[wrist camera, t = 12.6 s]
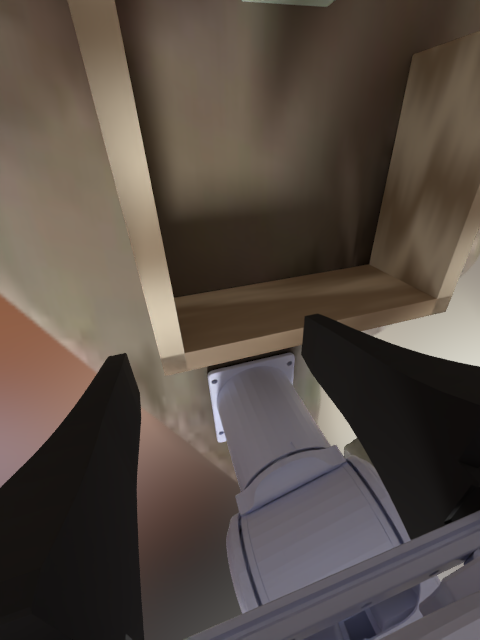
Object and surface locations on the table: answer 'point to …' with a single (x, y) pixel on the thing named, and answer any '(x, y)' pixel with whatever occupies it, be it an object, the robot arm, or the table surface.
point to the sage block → (296, 2)
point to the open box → (321, 288)
